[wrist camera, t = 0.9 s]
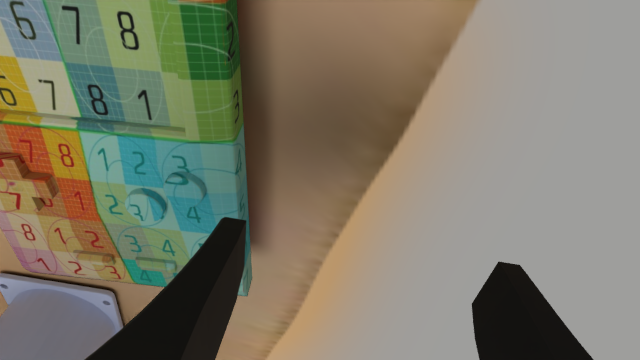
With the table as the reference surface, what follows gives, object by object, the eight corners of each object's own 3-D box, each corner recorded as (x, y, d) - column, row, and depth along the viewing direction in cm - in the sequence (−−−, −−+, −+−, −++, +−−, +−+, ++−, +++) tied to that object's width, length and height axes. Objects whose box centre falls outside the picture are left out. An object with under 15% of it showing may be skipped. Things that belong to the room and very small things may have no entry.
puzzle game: (20, 286, 22) (-326, -272, 9) (69, 223, 26) (-131, -240, 13) (243, 311, 22) (198, -228, 9) (261, 243, 25) (246, -208, 13)
